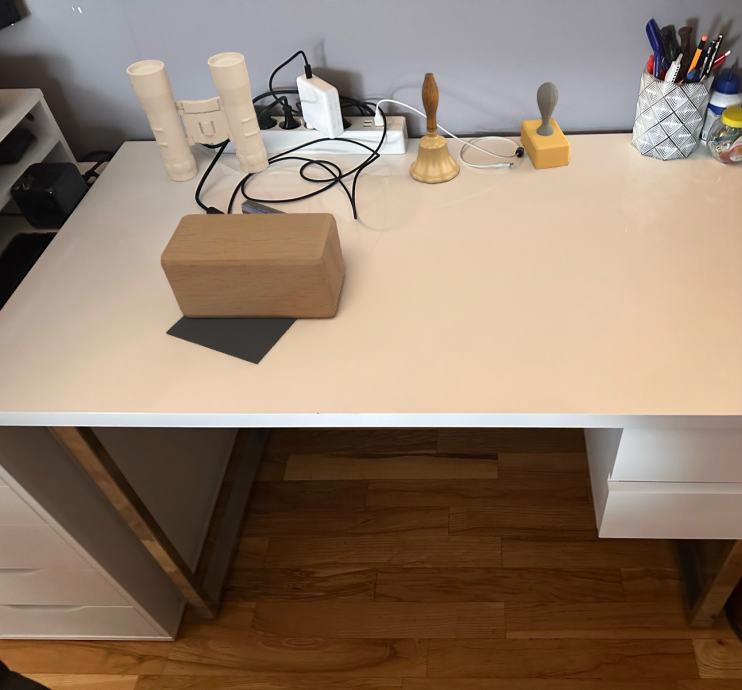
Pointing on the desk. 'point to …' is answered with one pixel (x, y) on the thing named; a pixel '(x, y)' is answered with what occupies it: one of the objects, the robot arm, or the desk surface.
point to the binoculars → (201, 115)
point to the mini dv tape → (257, 208)
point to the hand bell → (432, 143)
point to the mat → (233, 334)
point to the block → (255, 265)
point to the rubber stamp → (545, 132)
